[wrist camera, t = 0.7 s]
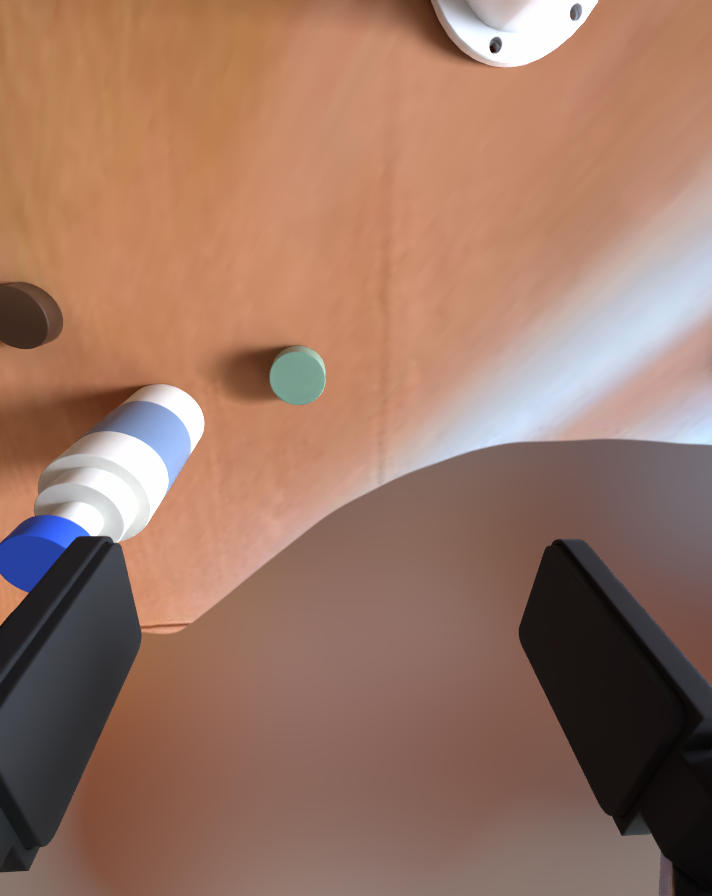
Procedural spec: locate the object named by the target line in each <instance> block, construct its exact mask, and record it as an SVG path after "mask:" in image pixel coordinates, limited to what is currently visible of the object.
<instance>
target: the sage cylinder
mask: <svg viewBox="0 0 712 896" xmlns="http://www.w3.org/2000/svg"><path fill="white" fill-rule="evenodd" d="M269 380H270V385H271V387H272V389H273V391H274V393H275V394H276V395H277V396H278V397H279V398H280V399H281V400H283V401H285V402H287V403H289V404H293V405H305V404H308V403H311V402H312V401H314V400H315V399H317V398H318V397H319V396H320V394H321V393H322V391H323V389H324V386H325V381H326V370H325V365H324V362H323V360H322V359H321V357H320V356H319V355H318V354H317V353H316V352H315V351H314V350H312V349H310V348H308V347H305V346H291V347H288V348H285V349H284V350H282V351H281V352H280V353H279V354H278V355H277V356H276V358H275V360H274V362H273V364H272V367H271V369H270V374H269Z"/></svg>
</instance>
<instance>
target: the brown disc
mask: <svg viewBox="0 0 712 896" xmlns="http://www.w3.org/2000/svg"><path fill="white" fill-rule="evenodd" d="M62 327H63V318H62V313H61V311H60V308H59V306H58V305H57V303H56V302H55V300H54V299H53V298H52V297H51V296H50V295H49V294H48V293H47V292H45V291H44V290H42V289H41V288H39V287H37V286H35V285H32V284H28V283H12V284H6V285H0V340H1V341H2V342H4V343H6V344H8V345H10V346H12V347H15V348H20V349H32V348H35V347H38V346H41V345H43V344H46V343H48V342H51V341H53V340H54V339H56V338H57V337H58V336H59V334H60V333H61V330H62Z"/></svg>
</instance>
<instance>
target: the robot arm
mask: <svg viewBox="0 0 712 896" xmlns="http://www.w3.org/2000/svg"><path fill="white" fill-rule="evenodd" d="M597 1H598V0H431V2H432V5H433V7H434V10H435V13H436V15H437V18H438V20H439V22H440V23H441V25H442V26H443V28H444V30H445V31H446V33H447V35H448V36H449V38H450V39H451V40H452V41H453V42H454V43H455V44H456V45H457V46H458V47H459V48H460V49H461V51H463V52H464V53H466V54H467V55H469V56H470V57H472V58H473V59H475V60H476V61H479V62H482V63H485V64H487V65H490V66H497V67H507V68H508V67H514V66H521V65H525V64H528V63H530V62H533V61H535V60H538V59H540V58H542V57H543V56H545V55H546V54H548V53H549V52H551V51H552V50H554V49H555V48H557V47H558V46H559V45H560V44H562V43H563V42H564V41H565V40H566V39H567V38H569V37H570V36H571V35H572V34H573V33H574V32H575V31H576V30H577V29H578V27H579V26H580V25H581V24H582V23H583V22H584V21H585V19H586V18H587V16H588V15H589V13H590V12H591V10H592V9H593V7H594V6H595V4H596V3H597ZM569 14H571V15H572V20H571V19H570V15H569ZM489 46H493V47H494V53H492V52H490V49H489ZM519 639H520V642H521V645H522V647H523V649H524V651H525V653H526V655H527V657H528V659H529V661H530V664H531V665H532V667H533V669H534V672H535V674H536V676H537V678H538V680H539V682H540V684H541V686H542V688H543V690H544V692H545V694H546V696H547V698H548V700H549V702H550V704H551V706H552V709H553V710H554V713H555V715H556V717H557V719H558V721H559V723H560V725H561V727H562V729H563V731H564V733H565V735H566V737H567V739H568V741H569V744H570V745H571V748H572V750H573V752H574V754H575V756H576V758H577V760H578V762H579V764H580V766H581V768H582V770H583V772H584V774H585V776H586V778H587V780H588V783H589V784H590V787H591V789H592V791H593V793H594V795H595V797H596V799H597V801H598V803H599V805H600V806H601V808H602V809H603V810H604V812H605V813H606V814H608V815H609V816H612V817H613V819H614V821H615V823H616V825H617V827H618V829H619V831H620V833H621V835H622V836H627V835H644V834H650V833H652V835H653V837H654V839H655V841H656V843H657V845H658V846H659V848H660V850H661V862H660V881H659V896H712V687H711V685H710V684H709V683H708V682H707V681H706V680H705V678H704V677H703V676H702V675H701V674H700V673H699V672H698V670H697V669H696V668H695V667H694V666H693V665H692V664H691V662H690V661H689V660H688V659H687V658H686V657H685V655H684V654H683V653H682V652H681V651H680V650H679V649H678V647H677V646H676V645H675V644H674V643H673V642H672V641H671V639H670V638H669V637H668V636H667V635H666V634H665V632H664V631H663V630H662V629H661V628H660V627H659V625H658V624H657V623H656V622H655V621H654V620H653V619H652V617H651V616H650V615H649V614H648V613H647V612H646V611H645V609H644V608H643V607H642V606H641V605H640V604H639V602H638V601H637V600H636V599H635V598H634V597H633V596H632V595H631V593H630V592H629V591H628V590H627V589H626V588H625V586H624V585H623V584H622V583H621V582H620V581H619V580H618V578H617V577H616V576H615V575H614V574H613V572H612V571H611V570H610V569H609V568H608V567H607V566H606V565H605V563H604V562H603V561H602V560H601V559H600V558H599V556H598V555H597V554H596V553H595V552H594V551H593V549H592V548H591V547H590V546H589V545H588V544H587V543H586V542H585V541H583V540H580V539H558V540H555V541H553V543H552V545H551V546H547V547H546V549H545V551H544V554H543V557H542V560H541V563H540V566H539V569H538V572H537V575H536V578H535V581H534V584H533V587H532V590H531V593H530V596H529V599H528V602H527V605H526V608H525V611H524V614H523V618H522V621H521V624H520V627H519ZM140 643H141V629H140V624H139V620H138V616H137V611H136V607H135V603H134V598H133V594H132V590H131V585H130V581H129V577H128V572H127V568H126V564H125V559H124V555H123V551H122V547H121V545H120V544H118V543H114V542H113V539H112V538H111V537H109V536H79V537H76V538H75V539H74V540H73V541H72V542H71V544H70V545H69V546H68V547H67V548H66V550H65V551H64V552H63V553H62V554H61V555H60V557H59V558H58V559H57V560H56V561H55V563H54V564H53V565H52V566H51V567H50V569H49V570H48V571H47V572H46V573H45V575H44V576H43V577H42V578H41V579H40V581H39V582H38V583H37V584H36V585H35V586H34V588H33V589H32V590H31V591H30V592H29V594H28V595H27V596H26V597H25V598H24V600H23V601H22V602H21V603H20V604H19V606H18V607H17V608H16V609H15V610H14V611H13V612H12V613H11V614H10V615H9V616H8V617H7V619H6V620H5V621H4V622H3V623H2V625H1V626H0V872H15V871H29V869H30V867H31V865H32V863H33V860H34V858H35V856H36V854H37V852H38V850H39V848H40V847H44V846H46V845H47V844H48V843H49V842H50V841H51V840H52V838H53V837H54V835H55V833H56V831H57V829H58V827H59V825H60V822H61V820H62V818H63V816H64V814H65V812H66V809H67V807H68V805H69V803H70V801H71V798H72V796H73V794H74V792H75V790H76V787H77V785H78V783H79V781H80V778H81V776H82V774H83V772H84V770H85V768H86V765H87V763H88V761H89V759H90V756H91V754H92V752H93V750H94V748H95V745H96V743H97V741H98V739H99V737H100V734H101V732H102V730H103V728H104V726H105V723H106V721H107V719H108V717H109V714H110V712H111V710H112V708H113V706H114V703H115V701H116V699H117V697H118V695H119V692H120V690H121V688H122V686H123V684H124V681H125V679H126V677H127V675H128V673H129V671H130V668H131V666H132V664H133V662H134V659H135V657H136V655H137V653H138V650H139V647H140Z"/></svg>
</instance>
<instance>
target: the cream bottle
mask: <svg viewBox="0 0 712 896" xmlns="http://www.w3.org/2000/svg"><path fill="white" fill-rule="evenodd" d="M203 430H204V418H203V414H202V411H201V409H200V407H199V406H198V404H197V403H196V401H195V400H194V399H193V398H192V397H191V396H190V395H188V394H187V393H186V392H184V391H183V390H181V389H179V388H176V387H174V386H170V385H166V384H153V385H148V386H145V387H143V388H141V389H139V390H138V391H137V392H135V393H134V394H133V395H132V396H131V397H129V398H128V399H127V400H126V401H125V402H123V403H122V404H121V405H120V406H118V407H117V408H115V409H114V410H113V411H112V412H110V413H109V414H108V415H107V416H105V417H104V418H103V419H102V420H101V421H99V422H98V423H97V424H96V425H95V426H93V427H92V428H91V429H90V430H89V431H87V432H86V433H85V434H84V435H83V436H81V437H80V438H79V439H78V440H77V441H76V442H75V443H74V444H73V445H72V446H71V447H69V448H68V449H67V450H66V451H65V452H63V453H62V454H61V455H60V456H59V457H57V458H56V459H55V460H54V461H53V462H51V463H50V464H49V465H48V466H47V467H46V468H45V469H44V471H43V472H42V474H41V476H40V479H39V482H38V494H39V495H38V497H37V499H36V501H35V504H34V514H35V517H31V518H29V519H27V520H25V521H23V522H22V523H21V524H20V525H19V526H18V527H17V528H16V529H15V530H14V531H12V532H11V533H10V534H9V535H8V536H7V537H6V538H5V539H4V540H3V541H2V542H1V543H0V574H1V575H2V576H3V577H4V578H5V579H6V580H7V581H8V582H10V583H11V584H12V585H14V586H16V587H17V588H19V589H21V590H24V591H26V592H30V591H31V590H32V589H33V588H34V586H35V585H36V584H37V583H38V582H39V581H40V579H41V578H42V577H43V576H44V575H45V573H46V572H47V571H48V570H49V569H50V567H51V566H52V565H53V564H54V563H55V561H56V560H57V559H58V558H59V557H60V555H61V554H62V553H63V552H64V551H65V550H66V548H67V547H68V546H69V545H70V544H71V542H72V541H73V540H74V539H75V538H76V537H79V536H109V537H111V538H112V539H113V542H114V543H117V542H118V541H122V540H126V539H129V538H131V537H133V536H135V535H137V534H138V533H139V532H141V531H142V530H143V529H144V527H145V526H146V525H147V523H148V522H149V520H150V518H151V517H152V515H153V513H154V512H155V510H156V509H157V507H158V505H159V504H160V502H161V501H162V500H163V498H164V497H165V495H166V494H167V492H168V491H169V489H170V487H171V486H172V484H173V482H174V481H175V479H176V478H177V476H178V474H179V473H180V471H181V470H182V468H183V466H184V465H185V463H186V461H187V460H188V458H189V456H190V454H191V452H192V451H193V449H194V447H195V446H196V444H197V443H198V441H199V439H200V438H201V436H202V434H203Z"/></svg>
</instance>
